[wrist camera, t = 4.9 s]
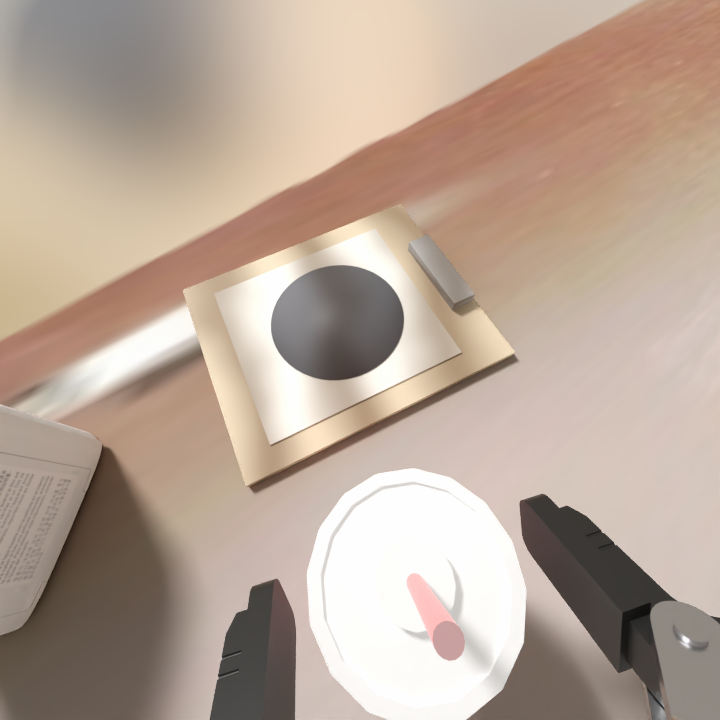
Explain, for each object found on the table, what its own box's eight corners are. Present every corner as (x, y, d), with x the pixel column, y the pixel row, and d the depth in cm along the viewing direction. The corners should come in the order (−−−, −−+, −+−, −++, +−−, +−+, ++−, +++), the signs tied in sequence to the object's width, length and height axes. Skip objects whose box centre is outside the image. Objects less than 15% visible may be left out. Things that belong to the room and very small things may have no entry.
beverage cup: (473, 521, 18) (697, 531, 5) (431, 652, 16) (648, 1184, 3) (368, 470, 19) (353, 381, 7) (317, 583, 17) (152, 769, 5)
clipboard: (249, 486, 19) (240, 484, 18) (186, 294, 25) (176, 283, 24) (512, 355, 22) (519, 346, 21) (399, 209, 28) (400, 195, 27)
